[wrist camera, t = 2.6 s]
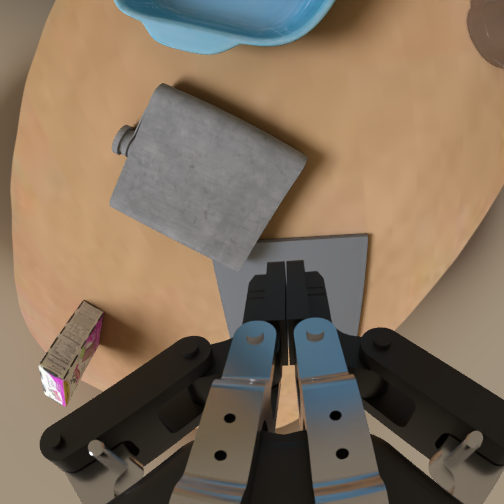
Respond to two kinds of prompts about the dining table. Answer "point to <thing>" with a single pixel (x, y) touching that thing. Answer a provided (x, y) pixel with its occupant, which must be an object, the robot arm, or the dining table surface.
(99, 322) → the candy bar box
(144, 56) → the dining table surface
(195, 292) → the dining table surface
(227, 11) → the casserole dish
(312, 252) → the mat
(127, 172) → the hip flask
